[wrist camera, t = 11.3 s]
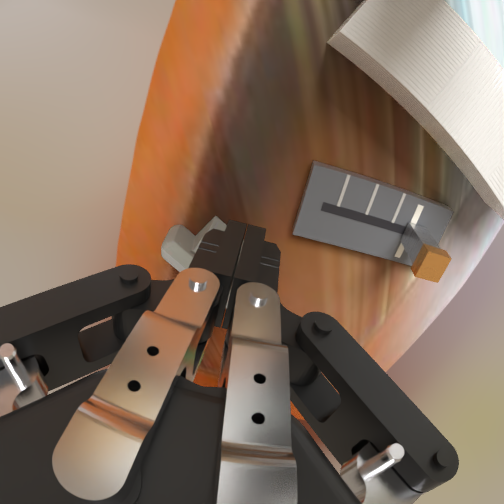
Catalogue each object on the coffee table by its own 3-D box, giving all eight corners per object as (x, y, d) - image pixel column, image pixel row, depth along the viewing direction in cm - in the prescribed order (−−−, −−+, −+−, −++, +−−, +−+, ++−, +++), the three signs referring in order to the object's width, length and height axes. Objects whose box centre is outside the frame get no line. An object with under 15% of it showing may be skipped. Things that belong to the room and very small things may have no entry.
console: (313, 160, 39) (314, 164, 37) (448, 205, 39) (454, 212, 38) (292, 227, 44) (292, 235, 43) (420, 262, 45) (424, 270, 43)
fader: (407, 219, 39) (428, 251, 32) (428, 226, 39) (451, 258, 32) (397, 241, 41) (415, 276, 34) (418, 248, 41) (437, 282, 34)
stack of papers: (522, 155, 33) (565, 180, 24) (483, 201, 38) (520, 236, 29) (375, -13, 26) (402, -37, 17) (326, 42, 31) (339, 31, 22)
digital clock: (166, 224, 46) (138, 263, 37) (212, 192, 43) (191, 228, 34) (231, 299, 53) (219, 347, 44) (277, 276, 49) (273, 325, 40)
